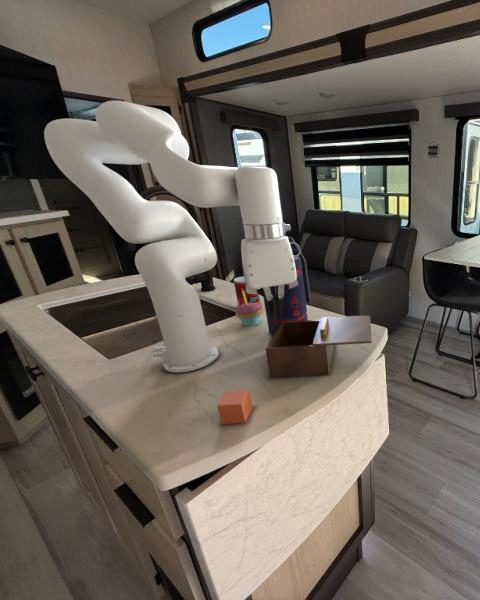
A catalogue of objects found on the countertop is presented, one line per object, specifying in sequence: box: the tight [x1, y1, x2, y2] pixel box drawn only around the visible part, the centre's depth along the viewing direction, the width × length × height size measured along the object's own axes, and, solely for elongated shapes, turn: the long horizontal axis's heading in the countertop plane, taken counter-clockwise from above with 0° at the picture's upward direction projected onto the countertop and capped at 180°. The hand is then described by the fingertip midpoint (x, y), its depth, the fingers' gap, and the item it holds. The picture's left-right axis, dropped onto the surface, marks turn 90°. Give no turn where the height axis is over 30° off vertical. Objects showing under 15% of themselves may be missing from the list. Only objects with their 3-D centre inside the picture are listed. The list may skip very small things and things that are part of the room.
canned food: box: [233, 275, 261, 307], centre depth 120 cm, size 8×8×11 cm
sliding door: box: [312, 314, 373, 346], centre depth 83 cm, size 14×16×2 cm
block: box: [216, 389, 253, 425], centre depth 64 cm, size 4×4×4 cm
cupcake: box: [235, 289, 264, 327], centre depth 105 cm, size 9×8×12 cm
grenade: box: [262, 235, 312, 337], centre depth 96 cm, size 14×12×30 cm
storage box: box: [265, 319, 335, 379], centre depth 84 cm, size 14×16×8 cm
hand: (276, 314), depth 71 cm, fingers closed
